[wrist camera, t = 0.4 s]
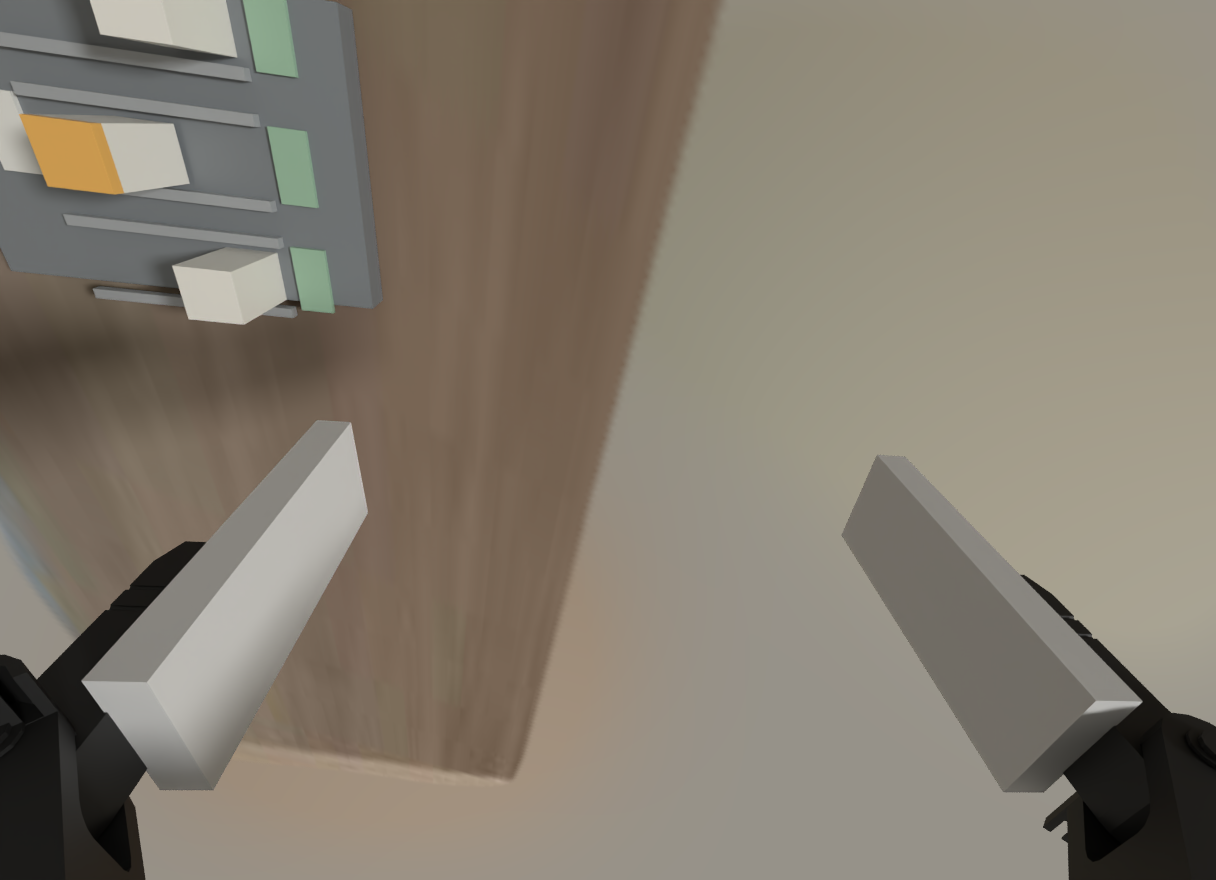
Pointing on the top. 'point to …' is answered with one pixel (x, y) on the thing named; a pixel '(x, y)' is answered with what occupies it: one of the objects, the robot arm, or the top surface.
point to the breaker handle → (105, 152)
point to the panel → (197, 152)
